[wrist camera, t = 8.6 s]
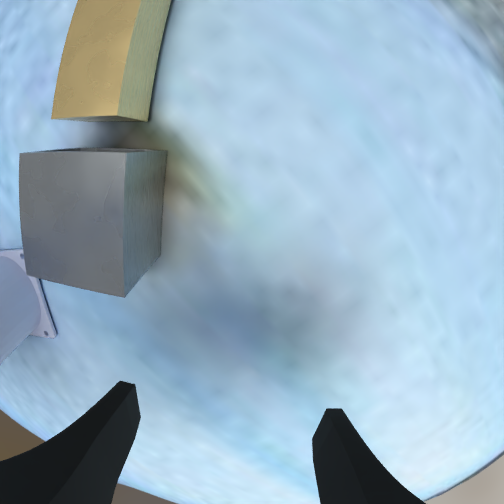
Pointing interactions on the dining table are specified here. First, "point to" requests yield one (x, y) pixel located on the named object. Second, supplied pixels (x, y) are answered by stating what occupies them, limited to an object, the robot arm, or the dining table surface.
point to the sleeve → (91, 215)
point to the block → (110, 60)
